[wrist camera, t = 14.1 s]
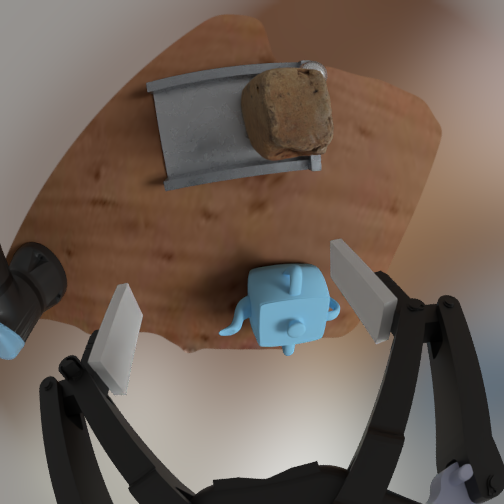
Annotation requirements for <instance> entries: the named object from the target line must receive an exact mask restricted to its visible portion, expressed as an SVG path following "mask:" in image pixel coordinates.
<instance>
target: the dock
mask: <svg viewBox="0 0 504 504" xmlns="http://www.w3.org/2000/svg"><path fill="white" fill-rule="evenodd" d="M291 67H292V68H305V69H315V70H318V71H321V73H322V74H323V76H324V78H325V80H327V71H326V69H325V67H324V66H323V65H322V64H320V63H318V62H316V61H300V62H298V63H267V64H253V65H242V66H233V67H224V68H217V69H210V70H204V71H198V72H193V73H188V74H183V75H178V76H173V77H169V78H164V79H160V80H156V81H152V82H149V83H146V85H147V92H148V93H151V94H153V95H154V101H155V107H156V114H157V120H158V126H159V132H160V138H161V143H162V149H163V154H164V159H165V165H166V170H167V175H168V177H167V178H166V179H165V180H164V187H165V191H169V190H174V189H179V188H184V187H189V186H194V185H200V184H205V183H211V182H217V181H223V180H229V179H236V178H242V177H249V176H256V175H264V174H271V173H279V172H288V171H297V170H306V169H309V170H311V171H319V170H321V156H320V155H310V156H298V157H293V158H288V159H283V160H277V161H271V160H267V159H265V158H263V157H262V156H261V155H260V154H258V153H257V152H256V151H255V150H254V148H253V147H252V145H251V143H250V139H249V137H248V134H247V131H246V128H245V124H244V120H243V114H242V109H241V94H242V90H243V89H244V87H245V86H246V85H247V84H248V83H249V82H250V81H251V80H252V79H253V78H254V77H255V76H257V75H258V74H260V73H262V72H264V71H266V70H270V69H275V68H291Z"/></svg>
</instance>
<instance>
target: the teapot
mask: <svg viewBox="0 0 504 504" xmlns="http://www.w3.org/2000/svg"><path fill="white" fill-rule="evenodd" d="M329 307H330V308H332V309H333V311H330V312H328V310H329ZM339 312H340V306H339V304H338V303H337V302H336V301H335V300H334V299H332V298H331V297H330V296H329V292H328V288H327V285H326V282H325V279H324V277H323V275H322V273H321V271H320V270H319V269H318V268H317V267H316V266H314V265H312V264H279V265H272V266H265V267H259V268H255V269H252V270H250V271H249V276H248V296H246V297H244V298H243V299H241V300H240V301H239V303H238V304H237V306H236V309H235V313H234V318H233V321H232V323H231V324H230V325H229V326H228V327H227V328H225V329H223V330H221V331H220V332H219V335H222V336H227V335H232V334H234V333H236V332H238V331H239V330H240V328H241V326H242V323H243V321H244V320H245V319H247V318H249V319H250V323H251V327H252V330H253V333H254V335H255V337H256V340H257V342H258V344H259V345H260V346H264V347H271V346H282V349H283V353H284V354H285V355H286V356H290V355H291V354H293V352H294V347H295V344H299V343H305V342H309V341H314V340H318V339H320V338H322V336H323V333H324V329H325V325H326V321H329V320H333V319H335V318H336V317H337V316H338V314H339Z"/></svg>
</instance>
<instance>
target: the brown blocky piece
mask: <svg viewBox="0 0 504 504" xmlns="http://www.w3.org/2000/svg"><path fill="white" fill-rule="evenodd" d="M241 109H242V114H243V120H244V124H245V128H246V131H247V134H248V137H249V139H250V143H251V145H252V147H253V148H254V150H255V151H256V152H257V153H258V154H260V155H261V156H262V157H263V158H265V159H267V160H271V161H277V160H283V159H288V158H293V157H298V156H310V155H321V154H324V153H325V152H326V149H327V146H328V145H329V144H330V142H331V140H332V138H333V120H332V114H331V112H332V110H331V104H330V96H329V93H328V91H327V84H326V80H325V78H324V76H323V74H322V73H321V71H318V70H315V69H305V68H292V67H291V68H275V69H270V70H266V71H264V72H262V73H260V74H258V75H257V76H255V77H254V78H253V79H252V80H251V81H250V82H249V83H248V84H247V85H246V86H245V87H244V89H243V90H242V94H241Z"/></svg>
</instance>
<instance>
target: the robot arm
mask: <svg viewBox="0 0 504 504" xmlns="http://www.w3.org/2000/svg"><path fill="white" fill-rule="evenodd" d="M330 259H331V278H332V280H333V281H334V282H335V284H336V285H337V287H338V288H339V290H340V291H341V292H342V294H343V295H344V297H345V298H346V300H347V301H348V303H349V304H350V306H351V307H352V308H353V310H354V311H355V313H356V314H357V316H358V317H359V319H360V320H361V322H362V323H363V325H364V326H365V328H366V329H367V331H368V332H369V334H370V335H371V337H372V338H373V340H374V341H375V343H376V344H378V343H381V342H383V341H386V340H388V339H389V335H390V332H391V333H392V334H393V336H394V339H393V343H392V346H391V351H390V355H389V359H388V363H387V366H386V370H385V373H384V377H383V380H382V383H381V386H380V390H379V393H378V396H377V399H376V402H375V405H374V407H373V410H372V413H371V416H370V419H369V421H368V424H367V426H366V429H365V431H364V434H363V436H362V439H361V441H360V443H359V446H358V448H357V450H356V452H355V455H354V457H353V459H352V461H351V463H350V465H349V467H348V469H344V468H341V467H337V466H331V465H318V462H317V461H316V462H312V463H308V464H304V465H301V466H297V467H293V468H290V469H288V470H286V471H284V472H282V473H279V474H277V475H275V476H272V477H271V478H268V479H253V478H239V477H237V478H229V479H219V480H213V485H211V486H209V487H206V488H205V489H203V490H201V491H200V492H198V493H197V494H195V493H194V492H192V491H191V490H190V489H189V488H187V487H186V486H185V485H184V484H182V483H181V482H180V481H179V480H178V479H177V478H176V477H175V476H174V475H173V474H172V473H171V472H170V471H169V470H168V469H167V468H166V467H165V465H164V464H163V463H162V462H161V461H160V460H159V459H158V458H157V457H156V456H155V455H154V454H153V452H152V451H151V450H150V449H149V448H148V447H147V445H146V444H145V443H144V442H143V441H142V439H141V438H140V437H139V436H138V434H137V433H136V432H135V431H134V430H133V428H132V427H131V426H130V424H129V423H128V422H127V420H126V419H125V418H124V416H123V415H122V414H121V412H120V411H119V409H118V408H117V407H116V405H115V404H114V403H113V401H112V399H111V398H110V397H109V396H108V391H109V390H110V391H111V392H112V393H113V394H114V395H126V393H127V387H128V381H129V377H130V372H131V366H132V361H133V357H134V352H135V347H136V343H137V338H138V334H139V330H140V326H141V322H142V318H143V315H142V313H141V311H140V308H139V306H138V304H137V302H136V300H135V298H134V296H133V293H132V291H131V289H130V287H129V284H128V283H125V284H120V285H118V286H117V288H116V290H115V293H114V295H113V297H112V299H111V302H110V304H109V307H108V309H107V311H106V314H105V316H104V319H103V321H102V324H101V327H100V329H99V330H95V331H94V332H93V333H92V335H91V336H90V338H89V340H88V344H87V345H86V348H85V349H86V350H85V351H84V354H83V356H82V359H81V362H80V360H79V359H78V358H77V357H76V356H74V355H71V356H68V357H66V358H64V359H63V360H62V361H61V363H60V364H59V372H60V373H61V374H62V375H63V377H64V378H65V380H62V381H59V382H58V381H57V380H56V379H55V378H54V377H51V376H50V377H47V378H45V379H44V380H43V381H42V382H41V384H40V388H39V389H40V390H39V393H40V411H41V423H42V431H43V440H44V446H45V453H46V458H47V464H48V468H49V474H50V478H51V482H52V486H53V490H54V494H55V497H56V501H57V504H113V502H112V500H111V498H110V495H109V492H108V490H107V488H106V485H105V482H104V480H103V477H102V475H101V472H100V469H99V466H98V463H97V460H96V457H95V454H94V451H93V447H92V444H91V440H90V437H89V433H88V429H87V425H86V421H85V418H86V420H87V421H88V423H89V425H90V427H91V429H92V430H93V432H94V434H95V435H96V437H97V439H98V440H99V442H100V444H101V445H102V447H103V448H104V450H105V452H106V453H107V455H108V456H109V458H110V459H111V461H112V462H113V463H114V465H115V466H116V468H117V469H118V471H119V472H120V473H121V475H122V476H123V477H124V479H125V480H126V481H127V483H128V484H129V488H128V489H129V491H130V493H131V494H132V495H133V497H134V498H135V499H136V500H137V502H138V503H139V504H421V503H419V502H416V501H413V500H411V499H409V498H406V497H404V496H401V495H399V494H396V493H394V492H392V491H390V490H387V488H388V485H389V483H390V480H391V478H392V475H393V473H394V470H395V468H396V465H397V462H398V459H399V456H400V453H401V450H402V447H403V444H404V440H405V437H404V431H405V427H406V424H407V421H408V417H409V413H410V409H411V405H412V401H413V396H414V392H415V387H416V382H417V377H418V372H419V366H420V360H421V353H422V346H423V343H427V347H428V353H429V359H430V366H431V373H432V381H433V391H434V402H435V418H436V465H437V473H438V474H437V475H436V476H435V477H434V479H433V480H432V482H431V486H430V497H429V499H428V501H427V503H426V504H481V503H483V502H485V501H488V500H490V499H492V498H494V497H496V496H498V495H499V494H500V493H501V492H502V491H503V489H504V464H503V461H502V459H501V456H500V454H499V451H498V449H497V447H496V444H495V442H494V440H493V437H492V432H491V424H490V416H489V409H488V404H487V398H486V393H485V387H484V383H483V378H482V374H481V370H480V366H479V362H478V358H477V354H476V351H475V347H474V344H473V341H472V337H471V335H470V332H469V328H468V325H467V322H466V319H465V317H464V314H463V311H462V308H461V306H460V303H459V301H458V300H457V299H456V298H455V297H452V296H449V295H444V296H441V297H440V298H439V299H438V302H437V304H430V305H425V304H424V303H423V302H422V301H420V300H418V299H413V298H409V296H407V295H406V293H405V292H404V291H403V290H402V289H401V288H400V287H399V286H398V285H397V284H396V283H395V282H394V281H393V280H392V279H391V278H390V277H389V275H387V274H385V273H383V272H381V271H378V272H375V273H374V272H373V271H372V270H371V269H370V268H369V267H368V266H367V265H366V264H365V263H364V262H363V261H362V260H361V259H360V258H359V257H358V255H357V254H356V253H355V252H354V251H353V250H352V249H351V248H350V247H349V246H348V245H347V244H346V243H345V242H344V241H343V240H342V239H337V240H332V241H330ZM66 288H67V279H66V275H65V271H64V269H63V267H62V265H61V263H60V261H59V260H58V259H57V257H56V256H55V255H54V254H53V253H52V252H51V251H50V250H49V249H48V248H46V247H45V246H43V245H41V244H38V243H34V242H30V243H26V244H24V245H23V246H22V247H20V248H19V249H18V250H17V251H16V253H15V254H14V256H13V259H12V261H11V263H10V266H8V263H7V261H6V258H5V256H4V253H3V251H2V248H1V245H0V358H3V359H7V360H8V359H9V360H10V359H13V358H15V357H16V356H17V355H18V353H19V352H20V350H21V349H22V348H23V347H24V344H25V342H26V340H27V338H28V336H29V335H30V333H31V331H32V330H33V328H34V326H35V325H36V323H37V321H38V320H39V318H40V316H41V315H42V313H43V312H45V311H46V310H48V309H50V308H51V307H53V306H54V305H56V304H57V303H58V302H59V301H60V300H61V299H62V297H63V296H64V294H65V292H66ZM84 416H85V417H84Z"/></svg>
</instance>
